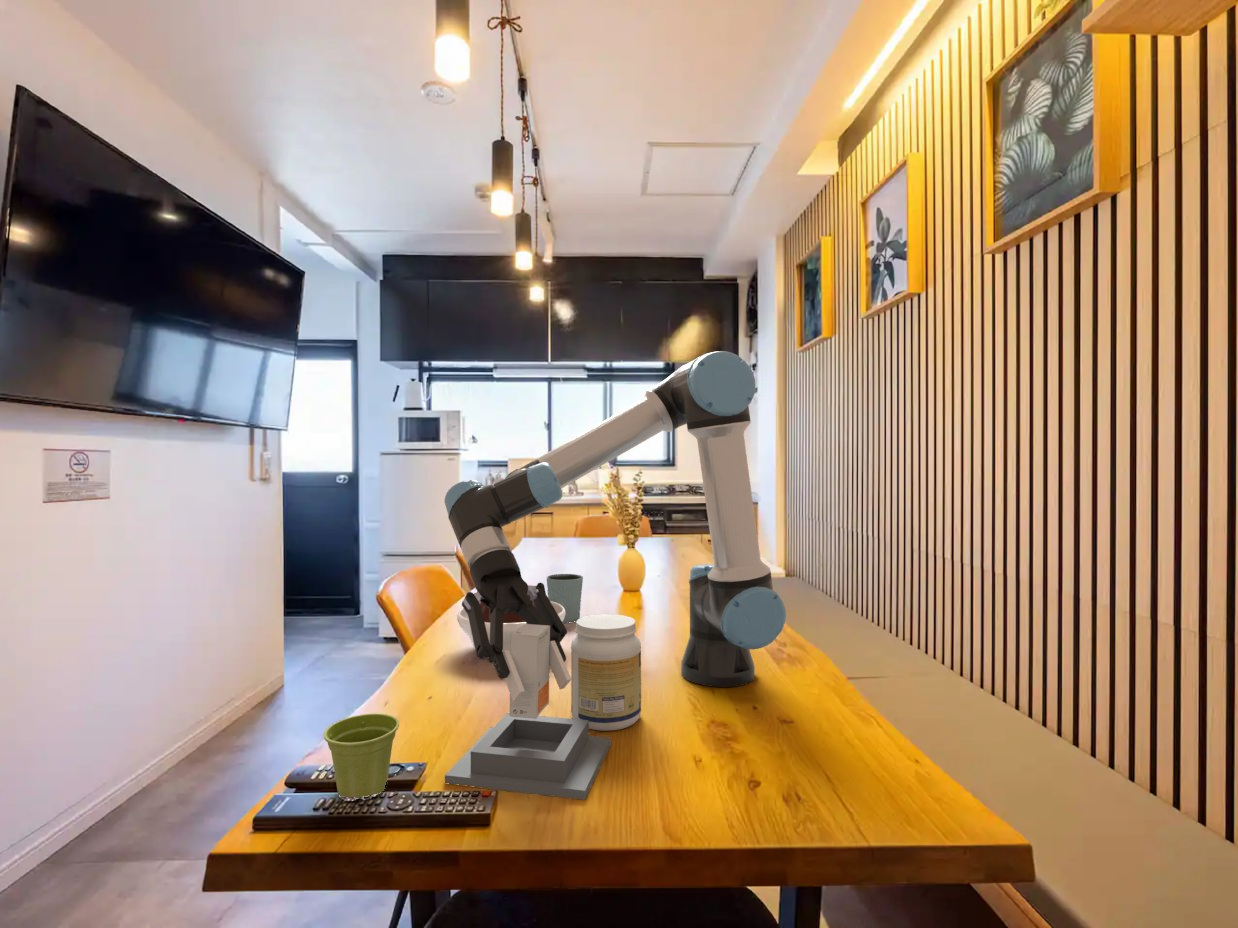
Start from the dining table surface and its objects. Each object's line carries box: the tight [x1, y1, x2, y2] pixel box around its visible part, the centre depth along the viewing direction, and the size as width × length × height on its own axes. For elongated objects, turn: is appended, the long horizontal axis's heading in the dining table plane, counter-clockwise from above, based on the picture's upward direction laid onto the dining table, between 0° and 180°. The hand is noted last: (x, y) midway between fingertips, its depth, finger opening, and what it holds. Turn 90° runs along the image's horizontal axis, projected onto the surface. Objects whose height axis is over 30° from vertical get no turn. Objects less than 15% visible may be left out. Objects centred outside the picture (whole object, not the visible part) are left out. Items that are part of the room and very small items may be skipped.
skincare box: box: [509, 624, 550, 719], centre depth 92 cm, size 6×4×12 cm
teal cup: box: [546, 573, 584, 624], centre depth 176 cm, size 10×10×12 cm
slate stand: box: [444, 712, 612, 801], centre depth 92 cm, size 20×16×4 cm
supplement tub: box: [570, 613, 642, 732], centre depth 109 cm, size 12×12×17 cm
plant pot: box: [323, 712, 400, 797], centre depth 85 cm, size 9×9×9 cm
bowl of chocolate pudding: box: [456, 594, 566, 653], centre depth 147 cm, size 25×25×15 cm
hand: (542, 689), depth 90 cm, fingers closed on skincare box, 7 cm apart
